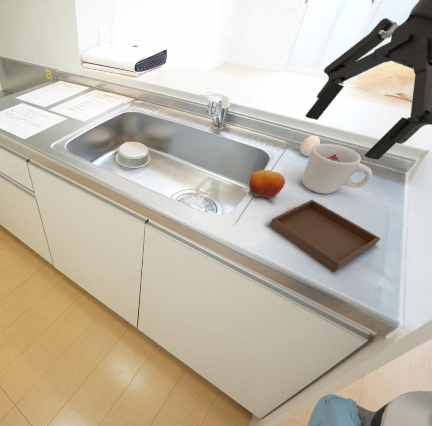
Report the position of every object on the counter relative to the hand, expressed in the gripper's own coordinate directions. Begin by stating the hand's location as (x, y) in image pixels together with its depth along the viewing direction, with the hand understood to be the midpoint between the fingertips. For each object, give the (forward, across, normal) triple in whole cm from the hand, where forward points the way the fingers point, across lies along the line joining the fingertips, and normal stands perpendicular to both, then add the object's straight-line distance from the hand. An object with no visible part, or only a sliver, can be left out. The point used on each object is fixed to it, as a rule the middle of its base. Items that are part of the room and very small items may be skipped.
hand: (338, 136), depth 50 cm
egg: (+16, +25, -34) cm, 45 cm away
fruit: (+22, +11, -9) cm, 27 cm away
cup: (+17, +8, -26) cm, 32 cm away
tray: (+20, -6, -11) cm, 24 cm away
